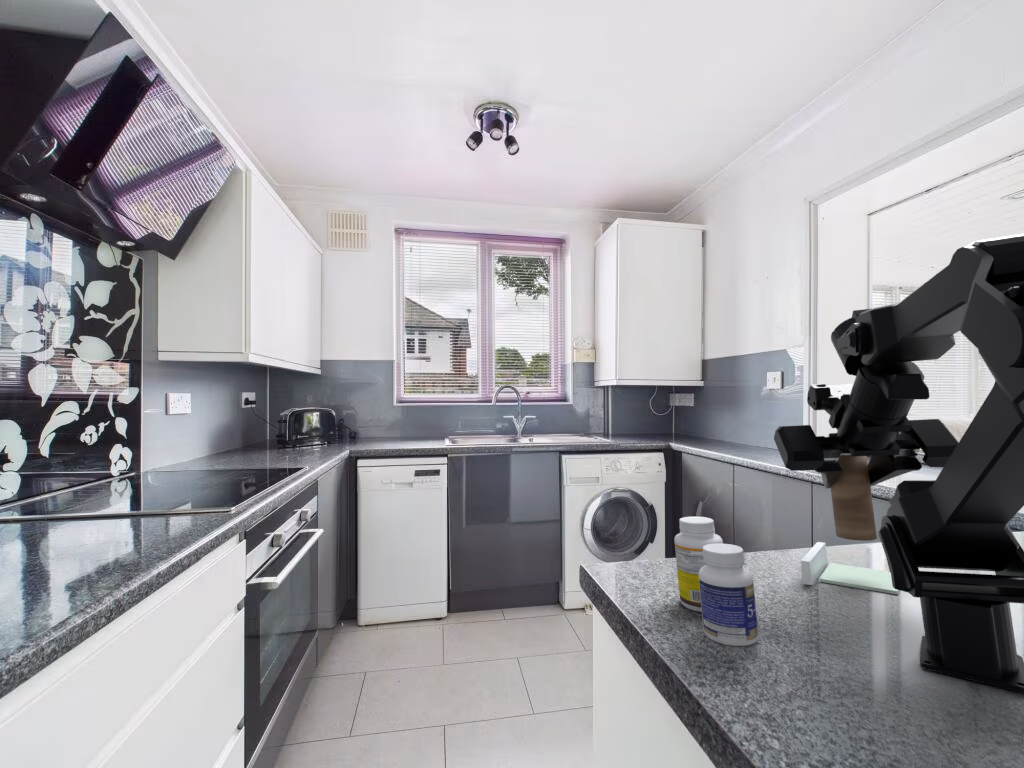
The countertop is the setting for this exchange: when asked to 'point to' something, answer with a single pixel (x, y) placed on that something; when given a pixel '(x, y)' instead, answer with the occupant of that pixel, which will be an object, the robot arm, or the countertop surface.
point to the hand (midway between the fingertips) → (845, 485)
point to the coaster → (859, 578)
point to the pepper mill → (853, 500)
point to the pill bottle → (727, 596)
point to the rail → (814, 563)
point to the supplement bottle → (692, 557)
